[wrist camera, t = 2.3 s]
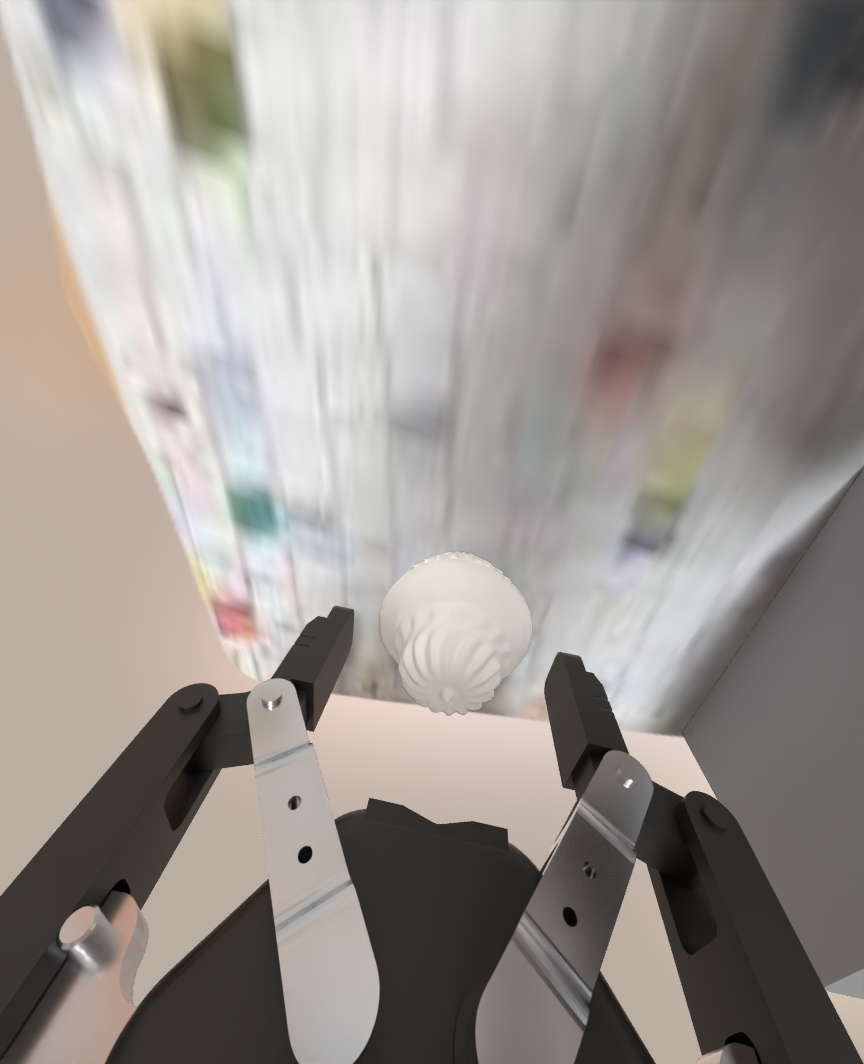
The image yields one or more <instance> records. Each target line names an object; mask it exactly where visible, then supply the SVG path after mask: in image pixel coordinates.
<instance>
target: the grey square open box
mask: <svg viewBox="0 0 864 1064" xmlns="http://www.w3.org/2000/svg"><path fill="white" fill-rule="evenodd" d="M682 734H683V736H684V738H685V740H686V742H687V744H688V746H689V747H690V749H691V751H692V753H693V755H694V757H695V759H696V760H697V762H698V764H699V766H700V768H701V770H702V772H703V773H704V775H705V777H706V779H707V781H708V783H709V784H710V786H711V788H712V790H713V792H714V794H715V796H716V798H717V799H718V801H719V802H720V803H721V804H723V805H724V806H725V807H726V808H727V809H728V810H729V811H730V812H731V814H732V815H733V816H734V817H735V819H736V820H737V821H738V823H739V825H740V826H741V828H742V830H743V832H744V834H745V836H746V838H747V840H748V842H749V844H750V846H751V848H752V850H753V852H754V853H755V855H756V857H757V859H758V861H759V863H760V865H761V867H762V869H763V871H764V873H765V875H766V877H767V879H768V880H769V882H770V884H771V886H772V888H773V890H774V892H775V894H776V896H777V898H778V900H779V902H780V904H781V906H782V907H783V909H784V911H785V913H786V915H787V917H788V919H789V921H790V923H791V925H792V927H793V929H794V931H795V933H796V934H797V936H798V938H799V940H800V942H801V944H802V946H803V948H804V950H805V952H806V954H807V956H808V958H809V960H810V961H811V963H812V965H813V967H814V969H815V971H816V973H817V975H818V977H819V979H820V981H821V983H822V985H823V987H824V988H825V990H826V991H829V992H833V993H838V994H842V995H847V996H852V997H856V998H860V999H864V468H863V470H862V471H861V473H860V474H859V475H858V477H857V478H856V480H855V481H854V483H853V484H852V486H851V487H850V489H849V490H848V491H847V493H846V494H845V496H844V497H843V499H842V500H841V502H840V503H839V505H838V506H837V508H836V509H835V510H834V512H833V513H832V515H831V516H830V518H829V519H828V521H827V522H826V524H825V525H824V526H823V528H822V529H821V531H820V532H819V534H818V535H817V537H816V538H815V540H814V541H813V542H812V544H811V545H810V547H809V548H808V550H807V551H806V553H805V554H804V556H803V557H802V558H801V560H800V561H799V563H798V564H797V566H796V567H795V569H794V570H793V572H792V573H791V574H790V576H789V577H788V579H787V580H786V582H785V583H784V585H783V586H782V588H781V589H780V591H779V592H778V593H777V595H776V596H775V598H774V599H773V601H772V602H771V604H770V605H769V607H768V608H767V609H766V611H765V612H764V614H763V615H762V617H761V618H760V620H759V621H758V623H757V624H756V625H755V627H754V628H753V630H752V631H751V633H750V634H749V636H748V637H747V639H746V640H745V641H744V643H743V644H742V646H741V647H740V649H739V650H738V652H737V653H736V655H735V656H734V658H733V659H732V660H731V662H730V663H729V665H728V666H727V668H726V669H725V671H724V672H723V674H722V675H721V676H720V678H719V679H718V681H717V682H716V684H715V685H714V687H713V688H712V690H711V691H710V692H709V694H708V695H707V697H706V698H705V700H704V701H703V703H702V704H701V706H700V707H699V708H698V710H697V711H696V713H695V714H694V716H693V717H692V719H691V720H690V722H689V723H688V724H687V726H686V727H685V729H684V730H683V732H682Z"/></svg>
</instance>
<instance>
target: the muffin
mask: <svg viewBox="0 0 864 1064" xmlns="http://www.w3.org/2000/svg"><path fill="white" fill-rule="evenodd" d="M380 632H381V637H382V640H383V643H384V645H385V647H386V649H387V651H388V652H389V654H390V655H391V656H392V657H393V659H394V660H395V661H396V662H397V663H398V664H399V672H400V675H401V677H402V679H401V680H402V684H403V686H404V689H405V690H406V691H407V693H408V694H409V695H410V696H412V697H413V698H414V700H415V701H416V702H417V703H418V704H419V705H421V706H423V707H428V708H429V709H430V710H431V711H432V712H435V713H437V712H441V711H442V712H444V713H445V714H446V715H448V716H450V715H452V714H453V713H455V712H457V713H459V714H461V715H465V714H466V713H467V712H468V710H479V709H480V708H481V707H482V703H485V702H488V701H490V700H491V699H492V698H493V697H494V689H495V688H497V687H498V686H499V685H500V684H501V680H502V679H504V678H505V677H506V676H507V675H509V674H510V673H511V672H512V671H513V670H514V669H515V668H516V667H517V665H518V664H519V663H520V662H521V660H522V659H523V657H524V656H525V654H526V652H527V650H528V648H529V645H530V641H531V636H532V621H531V616H530V612H529V609H528V606H527V603H526V601H525V599H524V598H523V596H522V594H521V593H520V592H519V590H518V589H517V588H516V587H515V586H514V585H513V584H512V583H511V580H510V579H508V578H507V577H505V576H504V575H503V572H502V571H501V570H499V569H497V568H495V567H494V566H493V565H492V564H491V563H489V562H487V561H485V560H483V559H481V558H479V557H478V556H475V555H473V554H471V553H469V554H466V553H465V552H462V553H460V552H458V551H456V552H454V553H451V552H447V553H443V554H440V555H437V556H434V557H431V558H427V559H424V560H423V562H421V563H419V564H416V565H414V566H413V569H412V570H410V571H408V572H406V573H405V574H404V575H403V576H402V577H401V578H400V579H398V580H397V581H396V583H395V584H394V585H393V586H392V587H391V589H390V590H389V591H388V593H387V595H386V596H385V599H384V601H383V604H382V607H381V611H380Z"/></svg>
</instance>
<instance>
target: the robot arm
mask: <svg viewBox="0 0 864 1064" xmlns="http://www.w3.org/2000/svg"><path fill="white" fill-rule="evenodd" d="M353 624H354V610H353V609H349V608H344V607H339V606H334V607H333V609H332V610H331V612H330V614H329V615H328V617H327V618H325V617H320V616H318V617H316V618H315V619H314V620H312V621H311V622H309V623H308V624H307V625H306V627H305V628H304V630H303V631H302V633H301V634H300V636H299V637H298V639H297V640H296V642H295V644H294V645H293V646H292V648H291V649H290V651H289V652H288V654H287V655H286V657H285V658H284V660H283V661H282V663H281V664H280V666H279V667H278V669H277V670H276V672H275V673H274V675H273V676H272V678H271V679H270V680H267V681H264V682H262V683H260V684H259V685H257V686H256V687H255V688H254V689H253V690H252V691H249V692H246V693H236V694H225V695H218V691H217V689H216V688H215V687H214V686H212V685H210V684H205V683H200V684H199V683H198V684H193V685H189V686H187V687H184V688H182V689H180V690H178V691H177V692H175V693H174V694H173V695H171V697H169V698H168V699H167V701H166V702H165V703H164V704H163V705H162V707H161V708H160V709H159V710H158V711H157V712H156V714H155V715H154V716H153V717H152V718H151V719H150V721H149V722H148V723H147V724H146V725H145V727H144V728H143V729H142V730H141V731H140V733H139V734H138V735H137V736H136V737H135V738H134V740H133V741H132V742H131V743H130V744H129V745H128V747H127V748H126V749H125V750H124V751H123V752H122V754H121V755H120V756H119V757H118V758H117V760H116V761H115V762H114V763H113V764H112V766H111V767H110V768H109V769H108V770H107V771H106V772H105V774H104V775H103V776H102V777H101V778H100V780H99V781H98V782H97V783H96V784H95V785H94V787H93V788H92V789H91V790H90V791H89V793H88V794H87V795H86V796H85V797H84V798H83V800H82V801H81V802H80V803H79V804H78V806H77V807H76V808H75V809H74V810H73V811H72V813H71V814H70V815H69V816H68V817H67V818H66V820H65V821H64V822H63V823H62V824H61V826H60V827H59V828H58V829H57V830H56V831H55V833H54V834H53V835H52V836H51V837H50V838H49V840H48V841H47V842H46V843H45V844H44V846H43V847H42V848H41V849H40V850H39V852H38V853H37V854H36V855H35V856H34V857H33V859H32V860H31V861H30V862H29V863H28V864H27V866H26V867H25V868H24V869H23V870H22V872H21V873H20V874H19V875H18V876H17V878H16V879H15V880H14V881H13V882H12V883H11V885H10V886H9V887H8V888H7V889H6V890H5V892H4V893H3V894H2V895H1V896H0V1064H656V1063H655V1062H654V1060H653V1058H652V1057H651V1055H650V1053H649V1052H648V1050H647V1048H646V1047H645V1045H644V1044H643V1042H642V1040H641V1038H640V1037H639V1035H638V1033H637V1032H636V1030H635V1028H634V1026H633V1025H632V1023H631V1022H630V1020H629V1018H628V1017H627V1015H626V1013H625V1011H624V1010H623V1008H622V1006H621V1005H620V1003H619V1002H618V1000H617V998H616V997H615V995H614V994H613V992H612V990H611V988H610V986H609V985H608V983H607V981H606V980H605V978H604V976H603V975H602V973H601V971H600V968H601V965H602V962H603V959H604V956H605V953H606V950H607V947H608V944H609V941H610V938H611V935H612V932H613V929H614V926H615V923H616V919H617V916H618V913H619V910H620V907H621V904H622V901H623V898H624V895H625V892H626V889H627V886H628V883H629V880H630V877H631V874H632V871H633V868H634V864H635V861H636V858H638V859H639V860H641V861H643V862H645V863H646V864H647V867H648V871H649V874H650V878H651V881H652V884H653V888H654V891H655V895H656V898H657V902H658V905H659V908H660V912H661V915H662V919H663V922H664V925H665V929H666V932H667V936H668V940H669V943H670V947H671V950H672V953H673V957H674V960H675V964H676V967H677V971H678V974H679V978H680V981H681V985H682V988H683V991H684V995H685V998H686V1002H687V1005H688V1009H689V1012H690V1015H691V1019H692V1022H693V1026H694V1029H695V1033H696V1036H697V1039H698V1043H699V1046H700V1050H701V1053H702V1056H701V1057H700V1058H699V1059H698V1060H697V1061H696V1064H863V1062H862V1060H861V1058H860V1056H859V1054H858V1052H857V1050H856V1048H855V1046H854V1044H853V1042H852V1041H851V1039H850V1037H849V1035H848V1033H847V1031H846V1029H845V1027H844V1025H843V1023H842V1021H841V1019H840V1017H839V1015H838V1014H837V1012H836V1010H835V1008H834V1006H833V1004H832V1002H831V1000H830V998H829V996H828V994H827V992H826V990H825V988H824V987H823V985H822V983H821V981H820V979H819V977H818V975H817V973H816V971H815V969H814V967H813V965H812V963H811V961H810V960H809V958H808V956H807V954H806V952H805V950H804V948H803V946H802V944H801V942H800V940H799V938H798V936H797V934H796V933H795V931H794V929H793V927H792V925H791V923H790V921H789V919H788V917H787V915H786V913H785V911H784V909H783V907H782V906H781V904H780V902H779V900H778V898H777V896H776V894H775V892H774V890H773V888H772V886H771V884H770V882H769V880H768V879H767V877H766V875H765V873H764V871H763V869H762V867H761V865H760V863H759V861H758V859H757V857H756V855H755V853H754V852H753V850H752V848H751V846H750V844H749V842H748V840H747V838H746V836H745V834H744V832H743V830H742V828H741V826H740V825H739V823H738V821H737V820H736V819H735V817H734V816H733V815H732V814H731V812H730V811H729V810H728V809H727V808H726V807H725V806H724V805H723V804H721V803H720V802H719V801H718V800H716V799H715V798H713V797H712V796H710V795H707V794H705V793H702V792H699V791H692V792H689V793H688V794H687V795H686V796H685V797H684V798H683V797H682V796H679V795H678V794H676V793H674V792H672V791H670V790H668V789H666V788H664V787H662V786H660V785H658V784H657V783H655V782H653V781H652V780H651V778H650V776H649V774H648V773H647V771H646V769H645V768H644V767H643V766H642V765H641V764H640V763H639V762H638V761H637V760H636V759H635V758H633V757H632V756H630V755H629V752H628V750H627V747H626V745H625V742H624V739H623V737H622V734H621V732H620V729H619V726H618V724H617V721H616V719H615V716H614V713H613V712H612V708H611V706H610V703H609V701H608V698H607V695H606V693H605V690H604V687H603V685H602V684H601V683H600V681H599V680H598V679H597V678H596V676H595V675H594V674H593V673H590V672H586V670H585V667H584V664H583V661H582V659H581V657H580V656H577V655H572V654H567V653H562V652H558V653H557V655H556V657H555V659H554V662H553V664H552V667H551V669H550V671H549V674H548V676H547V678H546V681H545V688H544V694H545V700H546V705H547V710H548V715H549V720H550V725H551V730H552V736H553V741H554V746H555V751H556V756H557V761H558V766H559V771H560V776H561V781H562V786H563V788H567V789H572V790H575V792H576V797H577V801H576V802H575V804H574V805H573V807H572V809H571V811H570V813H569V815H568V817H567V819H566V821H565V822H564V824H563V826H562V828H561V830H560V832H559V833H558V835H557V837H556V839H555V841H554V843H553V845H552V847H551V848H550V850H549V852H548V854H547V856H546V857H545V859H544V861H543V863H542V864H541V866H540V868H539V869H538V868H537V867H536V866H535V865H534V864H533V862H532V861H531V860H530V859H529V858H528V857H527V856H526V855H525V854H524V853H522V852H521V851H520V850H519V849H518V848H516V847H515V846H514V845H512V844H510V843H509V842H508V832H507V829H504V828H501V827H496V826H492V825H487V824H483V823H479V822H474V821H471V822H459V823H449V824H435V823H433V822H431V821H430V820H428V819H426V818H424V817H422V816H421V815H419V814H417V813H415V812H414V811H412V810H410V809H408V808H406V807H405V806H403V805H399V804H394V803H390V802H386V801H381V800H377V799H372V798H369V801H368V806H367V809H363V810H357V811H353V812H349V813H347V814H344V815H342V816H340V817H338V818H337V819H335V820H334V818H333V814H332V811H331V807H330V803H329V799H328V796H327V792H326V788H325V785H324V781H323V777H322V774H321V770H320V767H319V763H318V759H317V756H316V752H315V749H314V746H313V744H312V743H310V741H309V739H308V735H307V731H306V730H309V731H313V732H314V730H315V728H316V725H317V723H318V721H319V719H320V717H321V714H322V712H323V710H324V707H325V705H326V703H327V701H328V699H329V697H330V694H331V692H332V690H333V688H334V685H335V683H336V681H337V679H338V676H339V674H340V672H341V670H342V668H343V665H344V663H345V661H346V659H347V656H348V654H349V651H350V648H351V644H352V638H353ZM249 764H254V766H255V773H256V782H257V790H258V798H259V806H260V813H261V821H262V829H263V837H264V845H265V852H266V860H267V868H268V875H269V879H268V880H267V881H266V882H264V883H263V884H262V885H261V886H260V887H259V888H258V889H257V890H256V891H255V892H254V893H253V894H252V895H251V896H249V897H248V899H246V900H245V901H244V902H243V903H242V904H241V905H240V906H239V907H238V908H237V909H236V910H234V911H233V912H232V913H231V914H230V915H229V916H228V917H227V918H226V919H225V920H224V921H223V922H222V923H221V924H219V925H218V926H217V927H216V928H215V929H214V930H213V931H212V932H211V933H210V934H209V935H208V936H207V937H205V938H204V939H203V940H202V941H201V942H200V943H199V944H198V945H197V946H196V947H195V948H194V949H193V950H192V951H190V952H189V953H188V954H187V955H186V956H185V957H184V958H183V959H182V960H181V961H180V962H179V963H178V964H176V965H175V966H174V968H172V969H171V970H170V971H169V972H168V973H167V974H166V975H165V976H164V977H163V978H162V979H161V980H160V981H159V982H158V983H157V984H156V985H155V986H154V988H153V989H152V990H151V991H150V992H149V993H148V994H147V996H146V997H145V998H144V1000H143V1001H142V1002H141V1003H140V1005H139V1006H138V1007H136V1006H134V1005H133V997H132V996H133V985H134V979H135V976H136V973H137V969H138V967H139V965H140V963H141V960H142V957H143V955H144V953H145V950H146V946H147V942H148V931H149V930H148V925H147V922H146V920H145V918H144V916H143V914H142V913H141V909H142V907H143V905H144V904H145V902H146V900H147V899H148V897H149V895H150V893H151V891H152V890H153V888H154V886H155V884H156V883H157V881H158V879H159V878H160V876H161V874H162V872H163V871H164V869H165V867H166V865H167V864H168V862H169V860H170V858H171V857H172V855H173V853H174V851H175V849H176V848H177V846H178V844H179V843H180V841H181V839H182V837H183V836H184V834H185V832H186V830H187V828H188V827H189V825H190V823H191V822H192V820H193V818H194V816H195V814H196V813H197V811H198V809H199V808H200V806H201V804H202V802H203V801H204V799H205V797H206V795H207V794H208V792H209V790H210V788H211V787H212V785H213V783H214V781H215V780H216V778H217V776H218V774H219V773H220V771H221V769H222V768H228V767H235V766H242V765H249Z"/></svg>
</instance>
